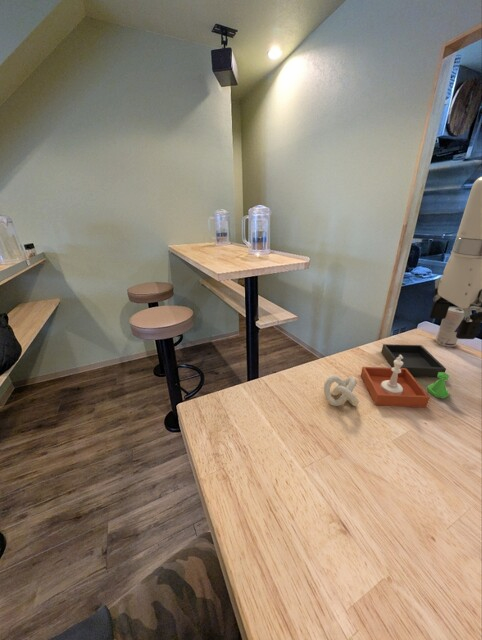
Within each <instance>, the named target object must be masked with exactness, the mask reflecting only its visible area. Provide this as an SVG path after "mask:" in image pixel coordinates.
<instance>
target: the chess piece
mask: <svg viewBox="0 0 482 640" xmlns="http://www.w3.org/2000/svg"><path fill="white" fill-rule="evenodd" d="M401 359H403V357H402V355H399V357H397V358H396V360H394V367H393V368H392V367H391V368H392V369H391V370H392V371H393V374H392V376H391V379H390V380H385V381H383V382H382V383H381V385H380V386H381V388H382V390H384V391H385V392H387V393H389V394H399V395H400V394H402V392H403V388H402V386H401V385H400V384H398V383H397V377H398V373H401V370H400V367H401V366H402V365H403V362H402V361H401Z"/></svg>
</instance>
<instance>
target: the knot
mask: <svg viewBox="0 0 482 640" xmlns="http://www.w3.org/2000/svg"><path fill="white" fill-rule="evenodd" d="M333 383H336V384H337V385H336V386H335V387H334V388H333V389H332V391H331V387H332V385H333ZM356 385H357V379H356V378H355V377H354V376H349V377H347V378H345V379H344V380H343V379H342V378H341V377H339V376H338V375H331V376H329V377H328V378H327V379H325V382H324V385H323V394H324V397H325V399H326V401H327V403H329V404H330V405H331V406H335V407H339V406H341V405H344V404H345V403H346V402H347V401H348V402H349V403H350V404H351V405H352V406H354V407H357V406H358V405H359V403H360V402H359V399H358V398H357V396H356V395H355V393H353V391H354V389H355V387H356ZM331 393H332V394H331ZM340 393H341V395H340V397H339V398H337V399H335V398H334V397H333V396H338V395H339V394H340ZM332 395H333V396H332Z"/></svg>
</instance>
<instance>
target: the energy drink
mask: <svg viewBox="0 0 482 640" xmlns="http://www.w3.org/2000/svg"><path fill="white" fill-rule="evenodd" d="M462 320H465V316H464V310H463V309H462V308H460V307H458V306H449V309H448V312H447V315H446V318H445V319H441V322H440V325H439V328H438V332H437V334H436V337H435V342H436V343H437V345H440V346H442V347H446V348H452V347H455V346H456V345H457V342H458V341H459V339H458V338H457V337H456V334H457V332H458V329H459V326H460V324H461V321H462Z"/></svg>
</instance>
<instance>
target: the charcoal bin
mask: <svg viewBox="0 0 482 640" xmlns="http://www.w3.org/2000/svg"><path fill="white" fill-rule="evenodd" d="M380 353H381V354H382V356H383V357H384V359H386V361H387V363H388V364H389V365H390V368H393V367H394V360H396V358H397V357H399V355H402V357H403V359H401V361H402V362H403V365H402V366H401V367H400V368H407V370H408V371H409V372H410V373H411V375H412V376H413V377H414V378H434V379H436V378H437V379H439V378H438V377H437V375H438V372H445V373H446V370H447V368H446V367H445V366H444V365H443V364H442V363H441V362H440V361H439V360H438V359H437V358H436V357H434V355H432V353H430V352H429V351H428V349H426V348H425V347H424V346H423V345H422V344H388V343H387V344H386V343H383V344H382V346H381V351H380Z"/></svg>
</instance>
